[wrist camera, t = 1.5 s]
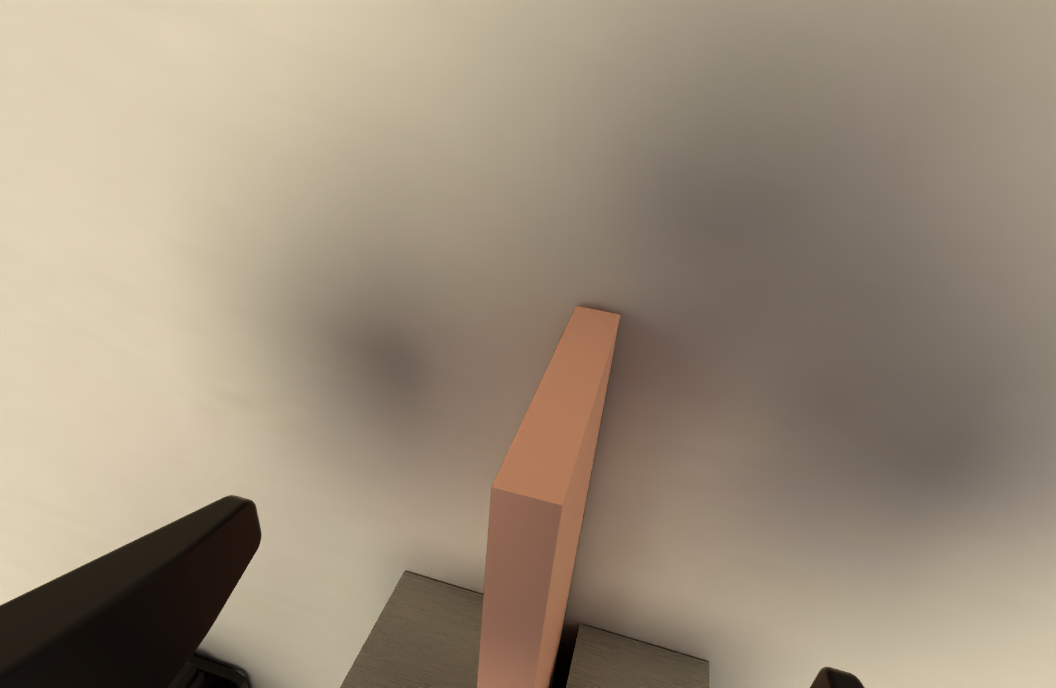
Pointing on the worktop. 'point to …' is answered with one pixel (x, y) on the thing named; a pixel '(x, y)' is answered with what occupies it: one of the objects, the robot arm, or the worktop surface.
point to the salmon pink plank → (543, 508)
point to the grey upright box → (454, 644)
